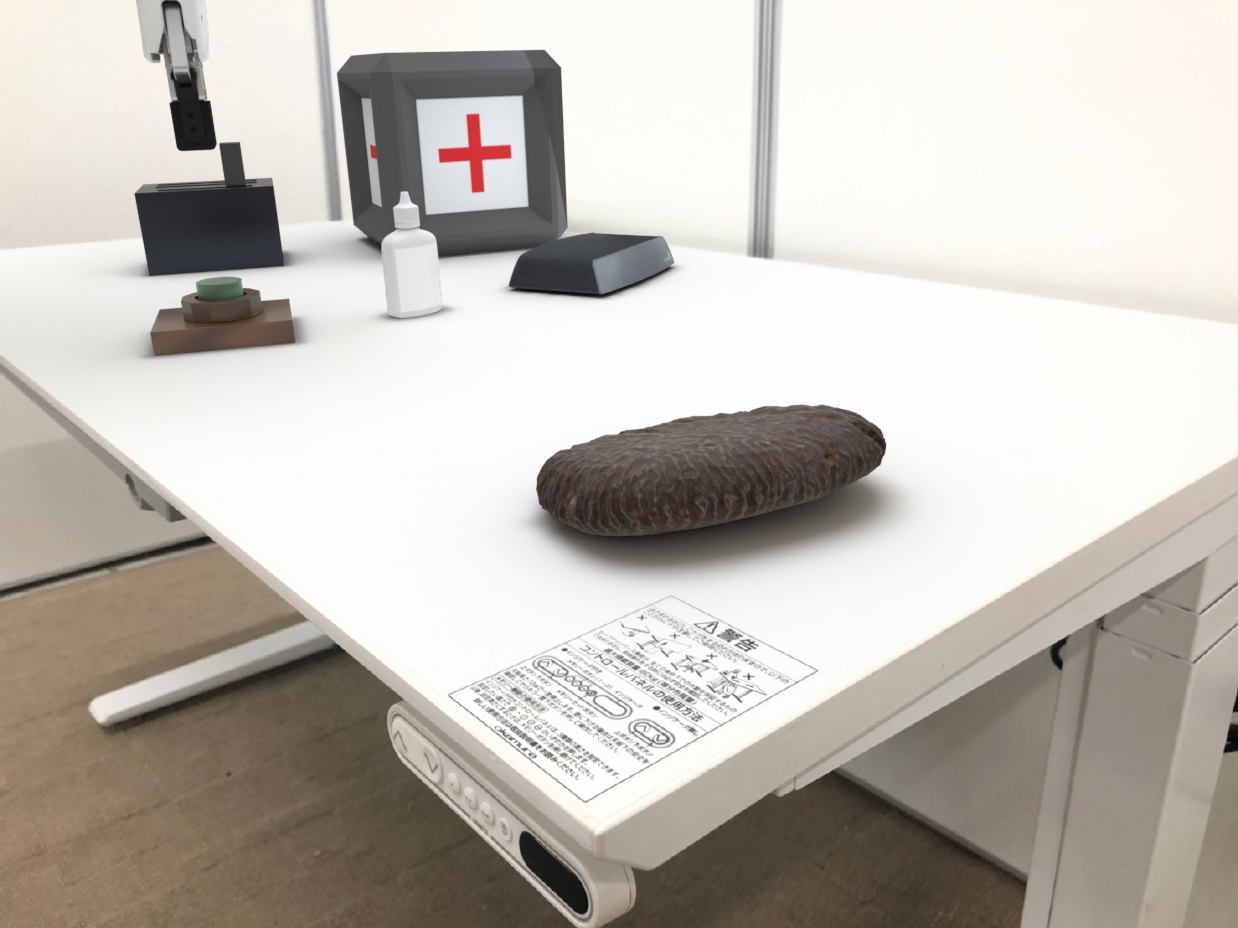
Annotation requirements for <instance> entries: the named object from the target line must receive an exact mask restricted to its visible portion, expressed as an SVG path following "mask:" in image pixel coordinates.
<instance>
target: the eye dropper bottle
mask: <svg viewBox="0 0 1238 928" xmlns="http://www.w3.org/2000/svg"><path fill="white" fill-rule="evenodd" d="M393 212H394V222H395V228H398V229H396V230H395V231H394V232H392V233H390V234H389V235H387V236H386V237H385V238H384V239H383V241H382V244H381V245H380V246H381V247H380V249H381V261H382V271H383V282H384V291H385V298H386V299H385V300H386V309H387V314H388V316H390V317H393V318H397V319H412V318H417V317H418V318H419V317H423V316H427V315H431V314H435V313H437V312H440V311H441V310H442V309H443V299H442V298H443V297H442V287H441V286H442V285H441V274H440V262H439V261H440V260H439V256H438V251H437V242H436V238H435V236H434V235H433V234H432V233H430V232H428V231H426V230H422V229H420V228H418V227H419V226H420V220H419V209H418V206H417V205H415V204H413V203H412V202H411V201H410V197H409V194H408V192H401V194H400V202H399V204H398V205H396V206H394V207H393Z"/></svg>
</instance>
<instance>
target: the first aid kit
mask: <svg viewBox="0 0 1238 928" xmlns="http://www.w3.org/2000/svg"><path fill="white" fill-rule="evenodd" d="M336 77H337V78H336V79H337V88H338V97H339V106H340V115H341V123H342V125H341V126H342V132H343V142H344V151H345V158H346V159H345V160H346V169H347V179H348V186H349V196H350V202H351V203H350V205H351V214H352V223H353V226H354V227H355V228H357V229H358V230H359V231H360V232H361V233H363V234H364V235H365V236H366V237H367V238H369V239H370V240H372V241H373V242H375V243H377V244H379V245H380V246H381V244H382V241H383V239H384V238H385V237H386V236H387V235H389V234H390V233H392V232H394V231H395V230H396V229H398V228H395V222H394V212H393V207H394V206H396V205H398V204H399V202H400V194H401V192H408V194H409V197H410V201H411V202H412V203H413V204H415V205H417V206H418V209H419V220H420V226H419V227H418V228H420V229H422V230H426V231H428V232H430V233H432V234H433V235H434V236H435V238H436V242H437V251H438V257H448V256H458V255H468V254H478V253H488V252H499V251H510V250H520V249H533V248H535V247H537V246H540V245H542V244H545V243H548V242H551V241H554V240H558V239H561V237H562V235H563V234H564V233H565V232H566V231H567V229H568V227H569V226H568V203H567V180H566V179H567V177H566V153H565V129H564V127H565V125H564V105H563V102H564V101H563V79H562V78H563V77H562V67H561V66H560V64H558V62H557V61H556V60H555V59H554V58H553V57H552V56H551V55H550V54H549V53H548V52H547V51H546V49H516V50H514V49H513V50H512V49H509V50H507V49H505V50H504V49H503V50H462V51H461V50H460V51H459V50H457V51H456V50H455V51H454V50H453V51H452V50H451V51H407V52H406V51H403V52H378V53H366V54H365V53H364V54H354V55H350V56H349V57H348V59H347V60H346V61H345V62H344V63H343V65H342V66H341V67H340V68H339V70H338V71H337V72H336Z"/></svg>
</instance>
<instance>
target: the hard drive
mask: <svg viewBox="0 0 1238 928" xmlns="http://www.w3.org/2000/svg"><path fill="white" fill-rule="evenodd" d="M666 240H667V239H665V237H664V236H663V235H642V234H641V235H639V234H638V235H637V234H619V233H599V232H588V233H581V234H575V235H571V236H566V237H562V238H559V239H558V240H554V241H551V242H548V243H545V244H542V245H540V246H537V247H532V248H530V249H529V250H527V251H525V252H524V253H522V254H520V255H519V256H518V258H517V259H516V262H515V264H514V266H513V270H512V272H511V275H510V279H509V283H508V288H511V289H524V290H536V291H551V292H552V291H553V292H563V293H577V294H589V295H591V294H592V295H603V294H607V293H610V292H613V291H616V290H618V289H622V288H624V287H627V286H630V285H633V284H635V283H638V282H640V281H642V280H645V279H646V278H650V277H652V276H654V275H656V274H657V273H660V272H662V271H664V270H665V269H668V268H670V267H671V266H672V265H675V259H674V256H673V254H672V251H671V249H670V247H669V245H668V243H667V241H666Z"/></svg>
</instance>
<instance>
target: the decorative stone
mask: <svg viewBox="0 0 1238 928" xmlns="http://www.w3.org/2000/svg"><path fill="white" fill-rule="evenodd" d="M886 451H887V442H886V438H885V437H884V433H883V431H882V429H881V428H879V427H878V426H877V425H876V424H875V423H873V422H871V421H869V420H868V419H866V418H865V417H864V416H862V415H861V414H859V413H857V412H855V411H852V410H849V409H845V408H839V407H836V406H831V405H827V404H822V403H821V404H818V405H809V404H790V405H787V406H781V405H763V406H761V407H757V408H756V407H755V408H753V409H751V410H749V411H747V410H744V411H743V410H739V411H736V412H733V413H728V412H727V413H726V412H719V413H715V414H714V415H713V414H712V415H691V416H685V417H679V418H676V419H673V420H670V421H668V422H662V423H659V424H655V425H652V426H646V427H644V428H635V429H625V430H621V431H620V432H619V433H616V434H615V433H614V434H604V435H601V436H598V437H596V438H594V439H591V440H589V441H586V442H583V443H582V442H581V443H577V444H572V446H571V447H570V448H566V449H560V450H558V451H556V452H555V453H554V454H552V456H550V457H549V458H547V459H546V460H545V461H544V463H543V464H542V465H541V468H540V470H539V472H538V474H537V476H536V487H535V491H536V494H537V500H538V505H540V506H541V509H542V510H544V511H546V512H548V514H549V515H550V516H551V517H552V518H555V519H556V520H557V521H559V522H561V523H562V524H565V525H567V526H569V527H571V528H573V529H575V530H578V531H579V532H582V533H586V534H590V535H597V536H601V537H602V536H605V537H634V536H635V537H638V536H639V537H640V536H649V535H650V536H651V535H659V534H666V533H671V532H673V533H674V532H679V531H680V532H681V531H686V530H697V529H701V528H706V527H712V526H716V525H720V524H725V523H730V522H735V521H738V520H744V519H748V518H752V517H756V516H760V515H764V514H768V513H772V512H775V511H779V510H782V509H786V508H790V507H793V506H797V505H802V504H805V503H810V502H813V501H816V500H818V499H821V498H823V497H825V496H826V495H828V494H830V493H833V492H836V491H838V490H841V489H844V488H846V487H848V486H850V485H852V484H854V483H856V482H857V481H859V480H861V479H863V478H865V477H866V476H869V475H870V474H871V473H872V472H874V471H875V470H876V469H878V467H880V466H881V465H882V462H883V458H884V456H885V455H886Z"/></svg>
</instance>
